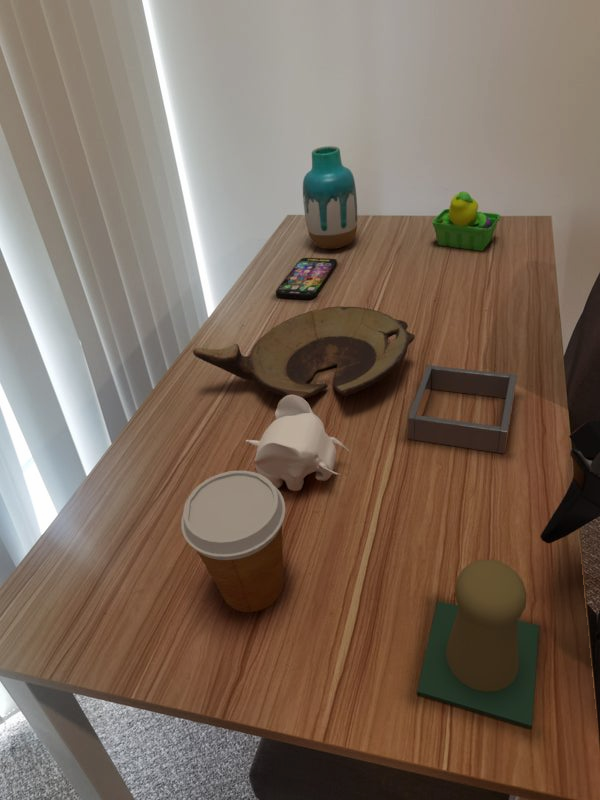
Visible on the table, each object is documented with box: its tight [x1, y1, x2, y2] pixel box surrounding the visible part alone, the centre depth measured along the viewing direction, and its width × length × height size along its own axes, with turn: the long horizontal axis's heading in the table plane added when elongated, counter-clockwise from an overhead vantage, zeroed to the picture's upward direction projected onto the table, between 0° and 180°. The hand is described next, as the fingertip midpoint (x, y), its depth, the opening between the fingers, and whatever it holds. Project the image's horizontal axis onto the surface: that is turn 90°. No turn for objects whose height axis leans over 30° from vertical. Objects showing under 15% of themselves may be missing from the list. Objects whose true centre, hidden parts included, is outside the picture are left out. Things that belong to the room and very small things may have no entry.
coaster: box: [416, 600, 540, 730], centre depth 52 cm, size 9×9×1 cm
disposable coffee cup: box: [180, 470, 286, 613], centre depth 57 cm, size 10×10×12 cm
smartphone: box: [275, 257, 338, 300], centre depth 113 cm, size 8×1×15 cm
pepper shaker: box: [446, 558, 527, 692], centre depth 48 cm, size 6×6×11 cm
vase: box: [302, 145, 358, 250], centre depth 119 cm, size 11×11×19 cm
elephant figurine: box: [245, 395, 350, 492], centre depth 70 cm, size 10×12×9 cm
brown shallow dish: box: [192, 306, 416, 399], centre depth 87 cm, size 22×30×8 cm
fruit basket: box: [431, 191, 501, 252], centre depth 115 cm, size 11×9×11 cm
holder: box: [407, 364, 518, 455], centre depth 76 cm, size 12×12×4 cm
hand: (569, 586), depth 47 cm, fingers open, 9 cm apart
